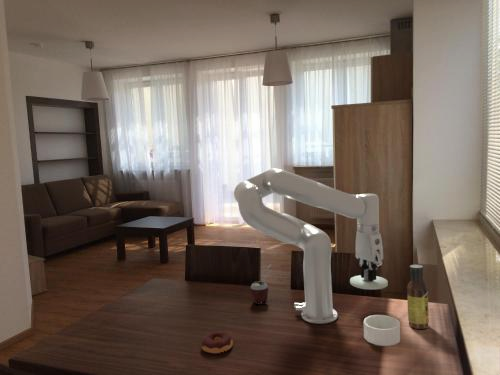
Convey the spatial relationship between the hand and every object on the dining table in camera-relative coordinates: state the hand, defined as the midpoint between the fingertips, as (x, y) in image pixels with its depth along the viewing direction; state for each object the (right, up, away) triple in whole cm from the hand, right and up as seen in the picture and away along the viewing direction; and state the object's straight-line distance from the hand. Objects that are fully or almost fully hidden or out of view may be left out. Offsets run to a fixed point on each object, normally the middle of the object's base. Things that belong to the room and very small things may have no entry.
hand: (368, 278), depth 147 cm
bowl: (-2, -14, -20) cm, 24 cm away
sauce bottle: (+12, -13, -14) cm, 22 cm away
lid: (0, -2, 0) cm, 2 cm away
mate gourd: (-38, -13, +15) cm, 43 cm away
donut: (-53, -18, -19) cm, 59 cm away
